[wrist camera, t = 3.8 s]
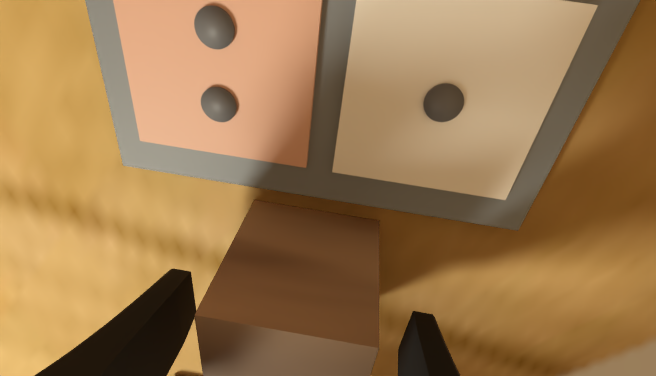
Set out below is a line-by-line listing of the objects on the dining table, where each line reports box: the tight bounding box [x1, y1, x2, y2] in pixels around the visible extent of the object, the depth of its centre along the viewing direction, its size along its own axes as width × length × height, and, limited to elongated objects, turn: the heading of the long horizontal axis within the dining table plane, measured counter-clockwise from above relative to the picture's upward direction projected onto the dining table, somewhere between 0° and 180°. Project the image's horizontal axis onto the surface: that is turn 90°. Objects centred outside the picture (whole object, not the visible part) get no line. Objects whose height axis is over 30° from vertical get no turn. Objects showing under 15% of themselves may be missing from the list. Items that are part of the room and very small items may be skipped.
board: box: [85, 0, 640, 231], centre depth 10 cm, size 8×13×1 cm, turn 83°
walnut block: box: [194, 200, 379, 376], centre depth 12 cm, size 4×4×5 cm
